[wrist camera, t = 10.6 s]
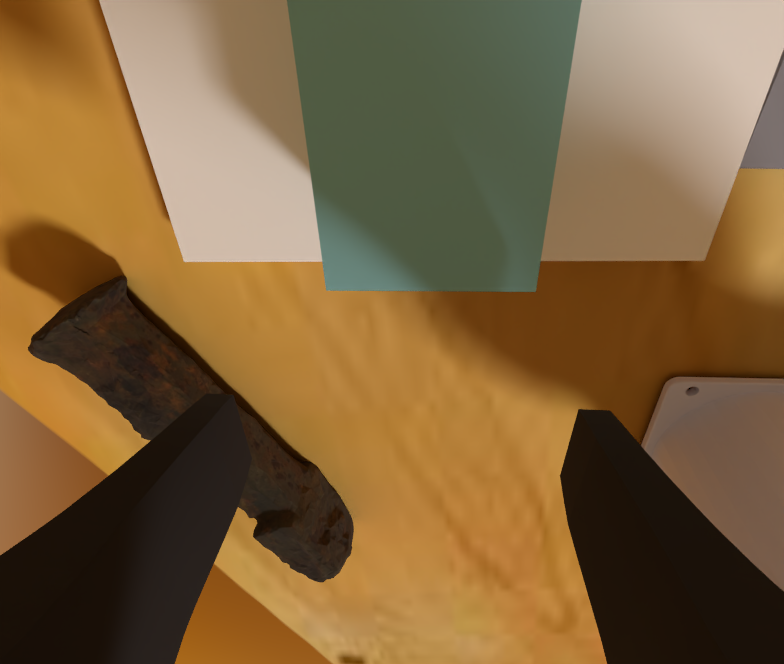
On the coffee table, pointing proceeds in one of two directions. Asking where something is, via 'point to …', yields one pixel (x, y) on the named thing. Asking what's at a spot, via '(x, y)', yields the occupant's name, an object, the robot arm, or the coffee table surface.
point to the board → (576, 146)
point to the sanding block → (432, 137)
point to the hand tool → (173, 397)
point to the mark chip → (769, 128)
